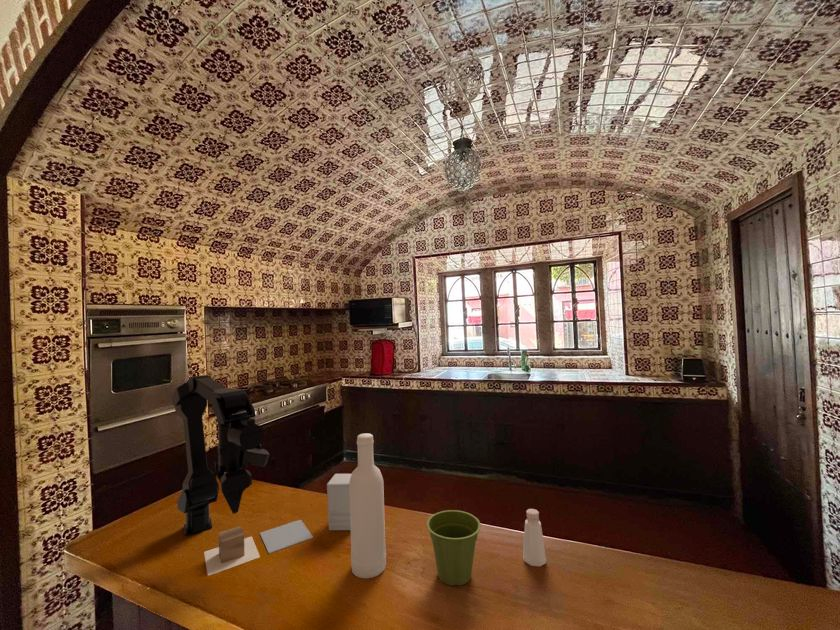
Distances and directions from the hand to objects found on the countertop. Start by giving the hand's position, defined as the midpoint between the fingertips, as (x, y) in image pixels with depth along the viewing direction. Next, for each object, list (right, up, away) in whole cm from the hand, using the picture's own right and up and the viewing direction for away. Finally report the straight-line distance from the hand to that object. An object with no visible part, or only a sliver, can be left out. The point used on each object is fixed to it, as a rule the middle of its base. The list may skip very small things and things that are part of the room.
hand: (232, 505), depth 90 cm
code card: (0, -12, 0) cm, 12 cm away
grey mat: (+11, -12, +7) cm, 17 cm away
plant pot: (+54, -10, -10) cm, 56 cm away
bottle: (+35, -11, -7) cm, 37 cm away
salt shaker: (+73, -10, -6) cm, 74 cm away
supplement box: (+25, -12, +12) cm, 30 cm away
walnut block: (0, -12, 0) cm, 12 cm away
